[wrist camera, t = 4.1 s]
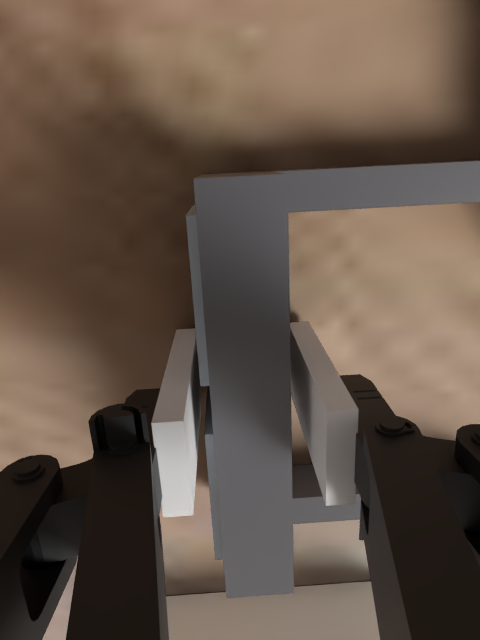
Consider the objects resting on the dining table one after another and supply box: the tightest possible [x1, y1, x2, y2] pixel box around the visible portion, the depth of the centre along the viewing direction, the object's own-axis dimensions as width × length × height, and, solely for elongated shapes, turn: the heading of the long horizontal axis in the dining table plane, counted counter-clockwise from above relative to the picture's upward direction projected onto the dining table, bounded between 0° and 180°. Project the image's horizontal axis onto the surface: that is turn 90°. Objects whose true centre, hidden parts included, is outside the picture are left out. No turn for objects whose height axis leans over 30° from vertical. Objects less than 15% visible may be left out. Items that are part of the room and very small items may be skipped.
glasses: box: [186, 160, 480, 598], centre depth 15 cm, size 11×13×5 cm
